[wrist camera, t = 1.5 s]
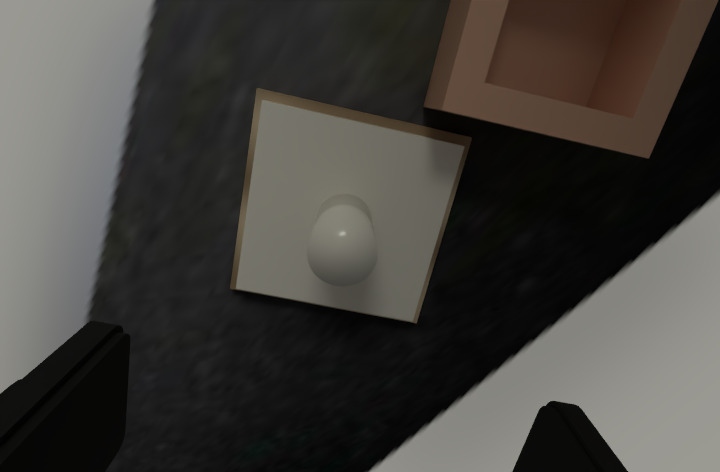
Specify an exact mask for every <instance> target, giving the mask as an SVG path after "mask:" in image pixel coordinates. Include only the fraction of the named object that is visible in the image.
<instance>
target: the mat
mask: <svg viewBox="0 0 720 472" xmlns="http://www.w3.org/2000/svg"><path fill="white" fill-rule="evenodd" d="M262 100H267V101H271V102H275V103H280V104H284V105H288V106H293V107H297V108H302V109H306V110H310V111H315V112H319V113H324V114H328V115H332V116H337V117H341V118H346V119H350V120H354V121H359V122H363V123H368V124H372V125H376V126H381V127H385V128H390V129H394V130H398V131H403V132H407V133H412V134H416V135H420V136H425V137H429V138H433V139H438V140H442V141H447V142H451V143H455V144H460V145H463V146H465V147H464V150H463V154H462V157H461V160H460V164H459V167H458V171H457V174H456V177H455V181H454V184H453V187H452V191H451V194H450V198H449V201H448V204H447V208H446V211H445V214H444V218H443V221H442V225H441V228H440V231H439V235H438V238H437V241H436V245H435V248H434V252H433V255H432V258H431V262H430V265H429V269H428V272H427V275H426V279H425V282H424V285H423V289H422V292H421V296H420V299H419V302H418V306H417V309H416V312H415V316H414V319H413V322H412V321H407V322H412V323H417V320H418V317H419V313H420V310H421V307H422V303H423V300H424V297H425V293H426V290H427V287H428V283H429V280H430V277H431V273H432V270H433V267H434V263H435V260H436V257H437V253H438V250H439V247H440V243H441V240H442V237H443V233H444V230H445V227H446V223H447V220H448V217H449V213H450V210H451V207H452V203H453V200H454V197H455V193H456V190H457V187H458V183H459V180H460V177H461V173H462V170H463V167H464V163H465V160H466V157H467V153H468V150H469V147H470V143H471V140H472V138H471V137H468V136H464V135H460V134H455V133H451V132H446V131H442V130H438V129H433V128H429V127H425V126H420V125H416V124H412V123H407V122H403V121H399V120H394V119H390V118H386V117H381V116H377V115H372V114H368V113H364V112H359V111H355V110H351V109H346V108H342V107H338V106H333V105H329V104H325V103H320V102H316V101H312V100H307V99H303V98H298V97H294V96H290V95H285V94H281V93H277V92H272V91H268V90H264V89H259V88H257V91H256V99H255V106H254V114H253V121H252V129H251V136H250V144H249V151H248V159H247V166H246V174H245V181H244V189H243V196H242V204H241V211H240V219H239V226H238V234H237V241H236V249H235V256H234V264H233V271H232V279H231V286H230V289H235V290H240V289H236V284H237V276H238V269H239V262H240V255H241V247H242V240H243V233H244V226H245V219H246V211H247V204H248V197H249V190H250V182H251V175H252V168H253V161H254V153H255V146H256V139H257V132H258V124H259V117H260V110H261V103H262ZM240 291H246V290H240ZM246 292H251V291H246ZM251 293H256V292H251ZM256 294H262V293H256ZM262 295H267V294H262ZM267 296H272V295H267ZM273 297H278V296H273ZM278 298H283V297H278ZM283 299H288V298H283ZM289 300H294V299H289ZM294 301H299V300H294ZM299 302H305V301H299ZM305 303H310V302H305ZM310 304H315V303H310ZM315 305H321V304H315ZM321 306H326V305H321ZM326 307H331V306H326ZM332 308H337V307H332ZM337 309H342V308H337ZM342 310H347V309H342ZM348 311H353V310H348ZM353 312H358V311H353ZM358 313H364V312H358ZM364 314H369V313H364ZM369 315H374V314H369ZM374 316H380V315H374ZM380 317H385V316H380ZM385 318H390V317H385ZM391 319H396V318H391ZM396 320H401V319H396ZM401 321H406V320H401Z"/></svg>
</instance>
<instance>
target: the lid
mask: <svg viewBox="0 0 720 472" xmlns="http://www.w3.org/2000/svg"><path fill="white" fill-rule="evenodd" d="M464 147H465V146H463V145H460V144H455V143H451V142H447V141H442V140H438V139H433V138H429V137H425V136H420V135H416V134H412V133H407V132H403V131H398V130H394V129H390V128H385V127H381V126H376V125H372V124H368V123H363V122H359V121H354V120H350V119H346V118H341V117H337V116H332V115H328V114H324V113H319V112H315V111H310V110H306V109H302V108H297V107H293V106H288V105H284V104H280V103H275V102H271V101H267V100H262V103H261V110H260V117H259V124H258V132H257V139H256V146H255V153H254V161H253V168H252V175H251V182H250V190H249V197H248V204H247V211H246V219H245V226H244V233H243V240H242V247H241V255H240V262H239V269H238V276H237V284H236V289H240V290H246V291H251V292H256V293H262V294H267V295H272V296H278V297H283V298H288V299H294V300H299V301H305V302H310V303H315V304H321V305H326V306H331V307H337V308H342V309H347V310H353V311H358V312H364V313H369V314H374V315H380V316H385V317H390V318H396V319H401V320H406V321H412V322H413V319H414V316H415V312H416V309H417V306H418V302H419V299H420V296H421V292H422V289H423V285H424V282H425V279H426V275H427V272H428V269H429V265H430V262H431V258H432V255H433V252H434V248H435V245H436V241H437V238H438V235H439V231H440V228H441V225H442V221H443V218H444V214H445V211H446V208H447V204H448V201H449V198H450V194H451V191H452V187H453V184H454V181H455V177H456V174H457V171H458V167H459V164H460V160H461V157H462V154H463V150H464Z"/></svg>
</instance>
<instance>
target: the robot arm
mask: <svg viewBox="0 0 720 472" xmlns="http://www.w3.org/2000/svg"><path fill="white" fill-rule="evenodd" d="M129 354H130V336H129V335H128V334H125V333H123V328H122V327H121V326H120V325H115V324H109V323H103V322H97V321H90V322H89V323H87V324H86V325H85V326H84V327H83V328H81V329H80V330H79V331H78V332H77V333H76V334H74V335H73V336H72V337H71V338H70V339H68V340H67V341H66V342H65V343H64V344H63V345H62V346H60V347H59V348H58V349H57V350H56V351H54V352H53V353H52V354H51V355H50V356H49V357H47V358H46V359H45V360H44V361H43V362H42V363H40V364H39V365H38V366H37V367H36V368H35V369H33V370H32V371H31V372H30V373H29V374H28V375H26V376H25V377H24V378H23V379H20V380H18V381H16V382H15V383H13V384H12V385H11V386H9V387H8V388H7V389H6V390H4V391H3V392H2V393H1V394H0V472H105V471H106V469H107V468H108V466H109V465H110V463H111V462H112V460H113V459H114V457H115V456H116V454H117V453H118V451H119V449H120V447H121V445H122V442H123V440H124V436H125V426H126V408H127V390H128V372H129ZM513 472H628V471H627V470H626V468H625V467H624V466H623V464H622V463H621V462H620V460H619V459H618V458H617V456H616V455H615V454H614V452H613V451H612V450H611V448H610V447H609V446H608V444H607V443H606V442H605V440H604V439H603V438H602V436H601V435H600V434H599V432H598V431H597V429H596V428H595V427H594V425H593V424H592V423H591V421H590V420H589V419H588V418H587V416H586V415H585V413H584V412H583V411H582V409H581V408H580V407H579V406H577V405H574V404H568V403H562V402H557V401H550V402H549V403H548V404H547V405H546V406H543V407H541V408H540V410H539V412H538V414H537V416H536V418H535V421H534V423H533V425H532V428H531V430H530V433H529V435H528V437H527V439H526V442H525V444H524V446H523V448H522V451H521V453H520V455H519V458H518V460H517V462H516V465H515V467H514V469H513Z"/></svg>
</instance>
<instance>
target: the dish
mask: <svg viewBox="0 0 720 472" xmlns="http://www.w3.org/2000/svg"><path fill="white" fill-rule="evenodd" d="M717 2H718V0H451V1H450V5H449V9H448V12H447V16H446V20H445V24H444V28H443V32H442V36H441V40H440V44H439V47H438V51H437V55H436V59H435V63H434V67H433V71H432V75H431V79H430V82H429V86H428V90H427V94H426V98H425V102H424V106H423V107H426V108H430V109H434V110H438V111H443V112H447V113H451V114H455V115H460V116H464V117H468V118H473V119H477V120H481V121H485V122H490V123H494V124H498V125H503V126H507V127H511V128H515V129H520V130H524V131H528V132H532V133H537V134H541V135H545V136H550V137H554V138H558V139H562V140H567V141H571V142H575V143H579V144H584V145H588V146H592V147H597V148H602V149H606V150H611V151H616V152H620V153H625V154H630V155H634V156H639V157H644V158H648V159H649V157H650V155H651V152H652V150H653V148H654V146H655V143H656V141H657V139H658V137H659V134H660V132H661V130H662V127H663V125H664V123H665V121H666V118H667V116H668V114H669V112H670V109H671V107H672V105H673V102H674V100H675V98H676V96H677V93H678V91H679V89H680V87H681V84H682V82H683V80H684V77H685V75H686V73H687V71H688V68H689V66H690V64H691V61H692V59H693V57H694V55H695V52H696V50H697V48H698V46H699V43H700V41H701V39H702V36H703V34H704V32H705V30H706V27H707V25H708V23H709V21H710V18H711V16H712V14H713V11H714V9H715V7H716V5H717Z"/></svg>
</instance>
